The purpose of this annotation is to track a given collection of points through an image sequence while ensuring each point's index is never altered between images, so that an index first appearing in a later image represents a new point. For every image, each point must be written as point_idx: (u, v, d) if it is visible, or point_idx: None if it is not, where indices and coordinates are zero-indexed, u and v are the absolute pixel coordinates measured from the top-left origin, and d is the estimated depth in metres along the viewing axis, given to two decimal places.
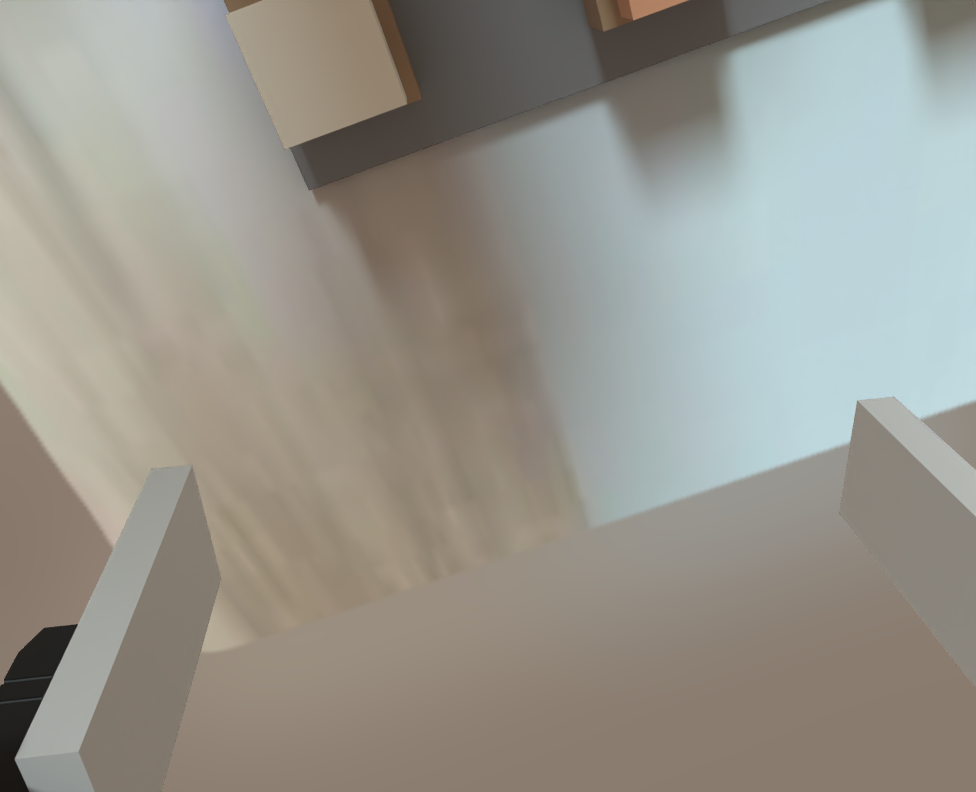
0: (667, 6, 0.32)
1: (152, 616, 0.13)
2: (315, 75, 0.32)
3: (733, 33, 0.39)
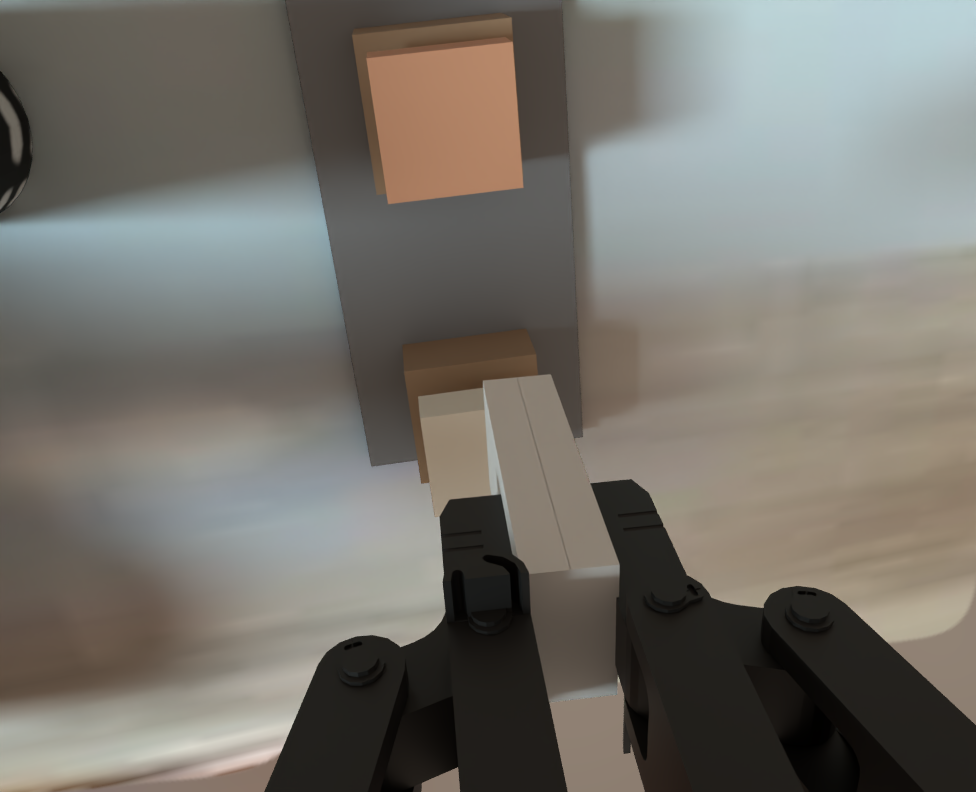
0: (519, 151, 0.31)
1: None
2: None
3: (559, 2, 0.35)
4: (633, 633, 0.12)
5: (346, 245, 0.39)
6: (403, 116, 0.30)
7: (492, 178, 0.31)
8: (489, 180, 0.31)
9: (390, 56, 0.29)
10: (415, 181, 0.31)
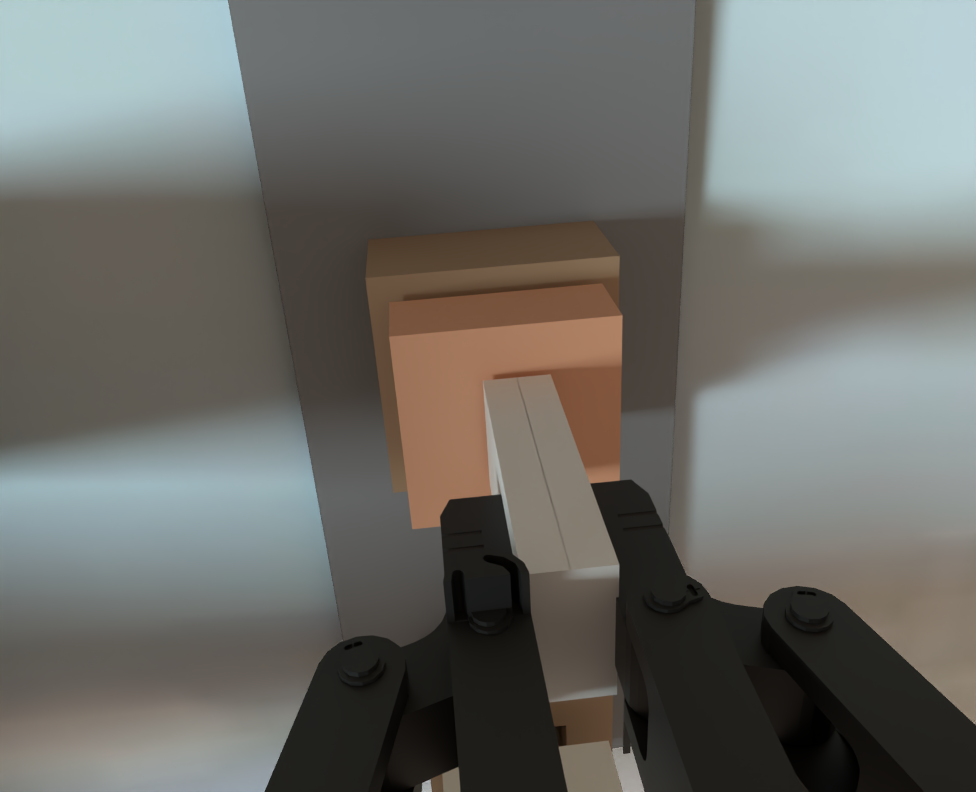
0: (618, 461, 0.20)
1: None
2: None
3: (682, 207, 0.23)
4: (633, 633, 0.12)
5: (344, 520, 0.27)
6: (443, 414, 0.19)
7: None
8: None
9: (427, 334, 0.18)
10: None
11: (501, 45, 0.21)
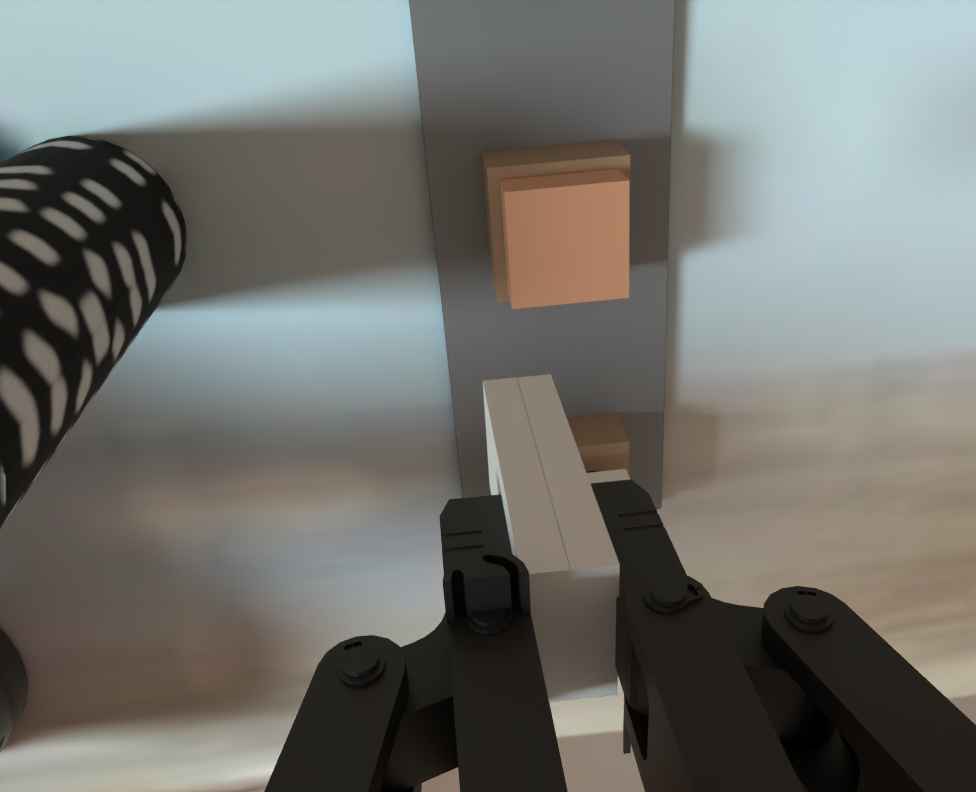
0: (628, 268, 0.36)
1: None
2: None
3: (669, 131, 0.38)
4: (633, 633, 0.12)
5: (459, 336, 0.42)
6: (531, 238, 0.35)
7: (602, 290, 0.36)
8: (600, 291, 0.36)
9: (524, 190, 0.34)
10: (537, 291, 0.36)
11: (562, 35, 0.36)
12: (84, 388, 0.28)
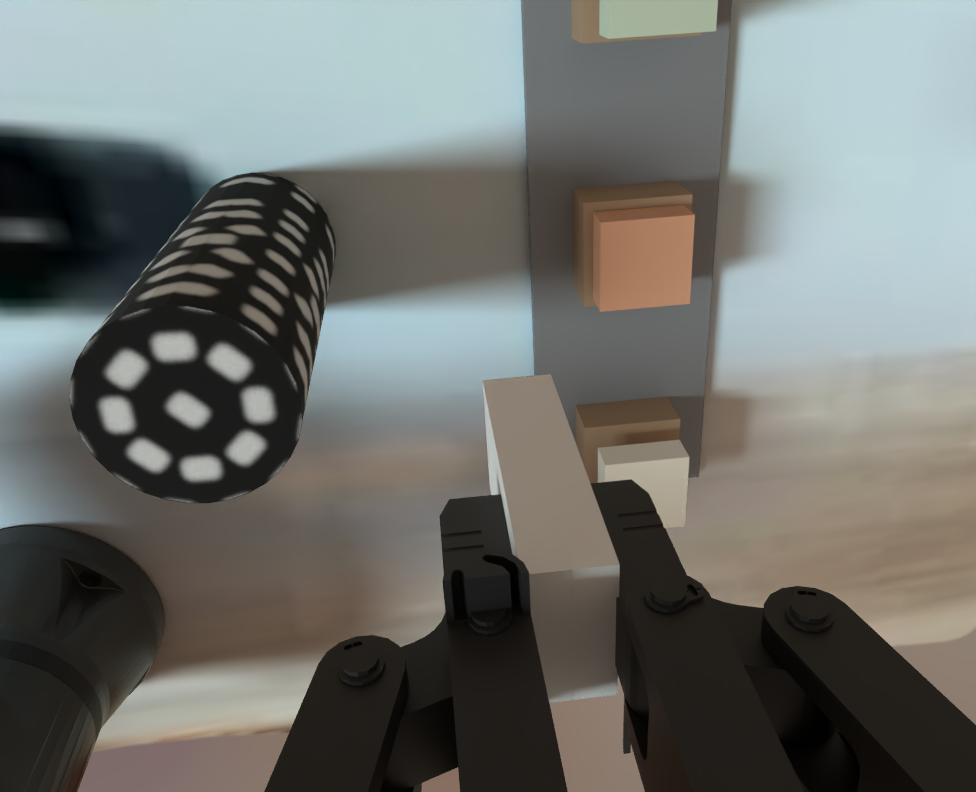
0: (690, 281, 0.47)
1: None
2: (653, 500, 0.51)
3: (718, 175, 0.49)
4: (633, 633, 0.12)
5: (545, 334, 0.53)
6: (618, 257, 0.46)
7: (670, 297, 0.47)
8: (668, 298, 0.47)
9: (616, 221, 0.45)
10: (620, 298, 0.47)
11: (640, 102, 0.47)
12: None
